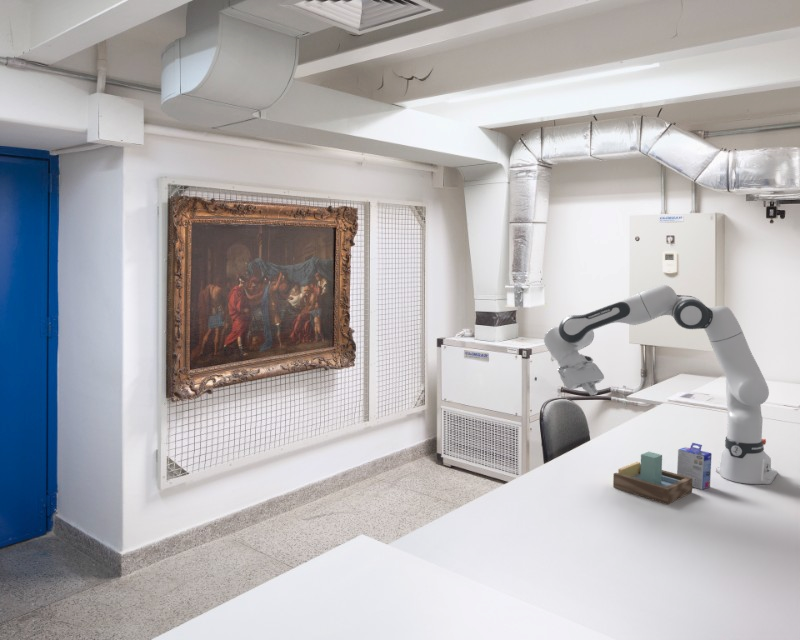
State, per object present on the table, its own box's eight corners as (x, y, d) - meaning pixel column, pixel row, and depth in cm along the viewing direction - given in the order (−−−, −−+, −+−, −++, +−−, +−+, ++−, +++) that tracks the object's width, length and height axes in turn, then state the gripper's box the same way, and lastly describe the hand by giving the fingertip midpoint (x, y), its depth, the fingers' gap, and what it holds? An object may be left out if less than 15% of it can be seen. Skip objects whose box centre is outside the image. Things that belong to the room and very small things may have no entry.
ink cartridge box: (711, 486, 226) (712, 446, 224) (703, 490, 222) (704, 449, 221) (684, 479, 233) (685, 439, 232) (675, 482, 230) (677, 442, 229)
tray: (636, 475, 234) (637, 461, 234) (682, 488, 221) (683, 474, 220) (618, 482, 227) (618, 469, 226) (664, 497, 213) (665, 482, 213)
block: (647, 479, 227) (648, 451, 226) (661, 483, 223) (662, 454, 222) (640, 482, 224) (640, 454, 223) (653, 486, 220) (654, 458, 219)
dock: (638, 476, 236) (638, 463, 236) (691, 492, 221) (692, 478, 220) (613, 487, 226) (613, 473, 226) (667, 504, 211) (668, 489, 210)
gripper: (561, 362, 238) (583, 393, 232) (593, 356, 251) (615, 385, 244) (551, 373, 242) (572, 403, 236) (583, 366, 255) (605, 394, 248)
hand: (594, 394), depth 240 cm, fingers closed
